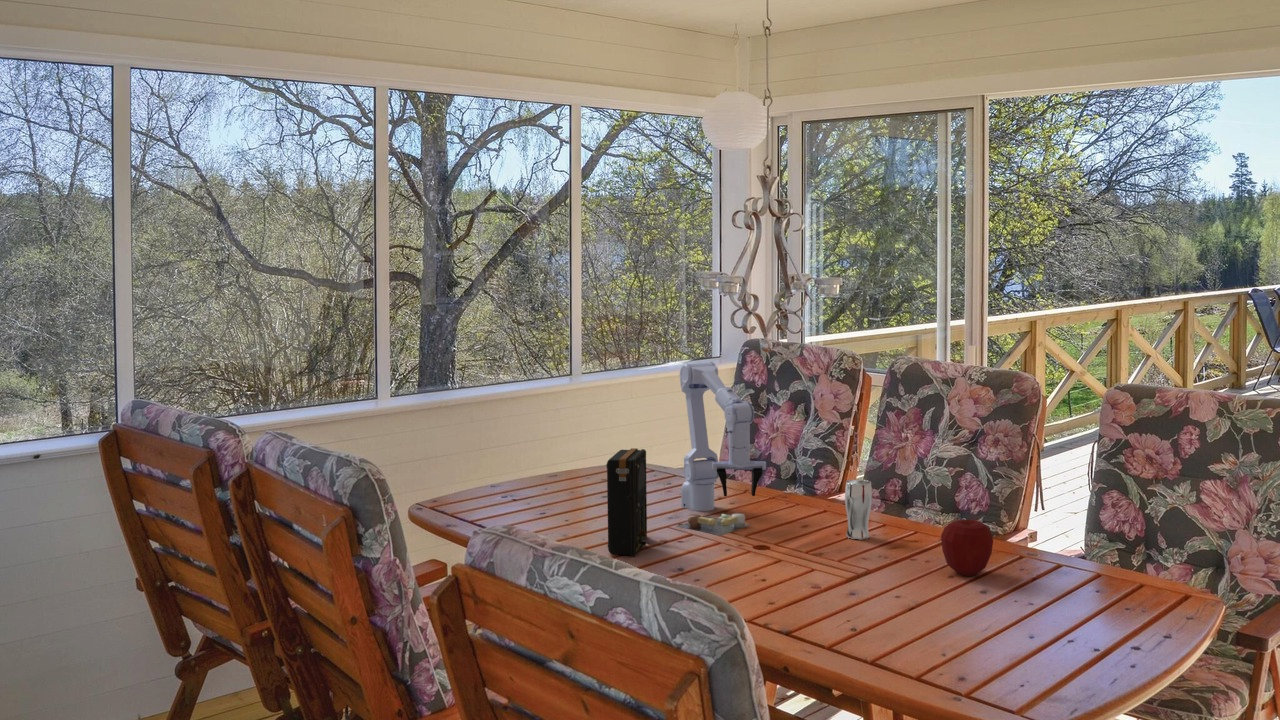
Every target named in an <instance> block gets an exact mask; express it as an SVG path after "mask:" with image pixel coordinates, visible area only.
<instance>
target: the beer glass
mask: <svg viewBox="0 0 1280 720" xmlns="http://www.w3.org/2000/svg"><path fill="white" fill-rule="evenodd" d="M872 501H873V493H872V481H870V480H868V479H860V478H859V479H857V478H855V479H854V478H853V479H848V480H846V481H845V489H844V505H845V510H846V518H847V530H846V536H847V537H848V538H847V537H846V538H847V539H849V538H851V539H850V540H852V539H859V540H858V541H864V540H863V539H866V540H869V539H870V533H869V518H870V515H871V509H872ZM868 538H869V539H868Z"/></svg>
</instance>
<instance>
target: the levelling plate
mask: <svg viewBox="0 0 1280 720" xmlns="http://www.w3.org/2000/svg"><path fill="white" fill-rule="evenodd" d="M705 517H706V518H714V519H715V520H716V524H715V526H710V525H706V524H701V527H700V528H689V527H688V522H685V523H683V524H680V525H676V526H675V527H677V528H681V529H686V530H690V531H695V532H701V533H705V534H711V535H714V536H715V535H716V536H719V537H720V536H724V535H726V534H729V533H733V532H735V531H739V530H741V529H743V528H747V527H748V526H750V524H749V523H745V527H741V528H737V527H732V524H731V525H728V526H726V527H725V526H723V525H722V524H721V522H718V517H712V516H709V515H708V516H707V515H706V516H705Z"/></svg>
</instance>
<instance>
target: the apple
mask: <svg viewBox="0 0 1280 720" xmlns="http://www.w3.org/2000/svg"><path fill="white" fill-rule="evenodd" d="M940 538H941V539H940V540H941V548H942V549H941V550H942V554H943V556H944V558H945V559H944V560H945V563H946V564H947V566H948V567H949V568H951V569H952V570H953V571H954V572H955V573H957V574H959V575H962V576H965V577H966V576H969V577H971V576H977V575H978V574H979V573H980V572H982V571H983V570H985V568H986V567H987V565H988V562H989V560H990V558H991V555H992V554H993V544H994V539H993V535H992V531H991V529H990V528H989V527H988V526H986V524H985V523H984V522H982V521H979V520H976V519H969V517H968V518H967V519H957V520H953V521H951V522H949V523H948V524H947V525H945V526H944V528H943V530H942V533H941V536H940Z"/></svg>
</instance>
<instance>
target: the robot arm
mask: <svg viewBox="0 0 1280 720" xmlns="http://www.w3.org/2000/svg"><path fill="white" fill-rule="evenodd" d="M679 382H680V388H681V392H682V393H684V394H685V402H686V411H687V418H688V429H689V430H688V431H689V437H690V446H691V449H690V451H689V452H687V454H686V455H685V456H684V457H683V469H682V470H683V472H682V473H683V476H684V479H685V481H684V482H683V483H682V485H681V490H680V491H681V494H680V495H681V496H680V499H681V508H684V509H688V510H692V511H696V512H698V511H699V512H708V511H713V510H715V483H717V480H718V479H719V480H720V484H721V487H722V492H723V496H724V497H727V496H728V489H727V475H728V474H727V471H728V470H730V471H731V470H751V489H750V492H751V496H752V497H755V496H756V490H757V487H758V484H759V481H760V480H761V478H762V476H763V472H764V471H766V470H767V462H766V461H760V460H751V458H750V457H751V454H750V452H751V451H750V448H751V447H750V446H751V443H750V441H751V439H750V437H751V434H750V433H751V428H750V427H751V423H752V422H753V421H754V419H755V410H754V407H753V405H752V403H751V402H750V401H745V400H742V398H740V396H739V395H738V394H737V393H736V392H735V391H734V389H733V388H732V387H731V386H725V384H724V382H723V381H722V380H721V378H720V376H719V370H718V366H717V365H716V363H715V362H713V361H709V362H708V361H707V362H695V363H687V362H686V363H683V365H681V368H680V370H679ZM709 390H710V391H711V392H712V393H713V394H714V395H715V396H714V399H715V402H716V404H717V405H718V406H719V407H720V408H721V410H722V411H723V413H724V420H725V423H726V429H727V430H728V460H724V461H719V459H718V454H717V453H716V452H715V451H713V450H712V449H711V448H710V446H709V439H708V429H707V420H706V413H705V404H704V394H705V392H707V391H709ZM696 459H697V460H696Z"/></svg>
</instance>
